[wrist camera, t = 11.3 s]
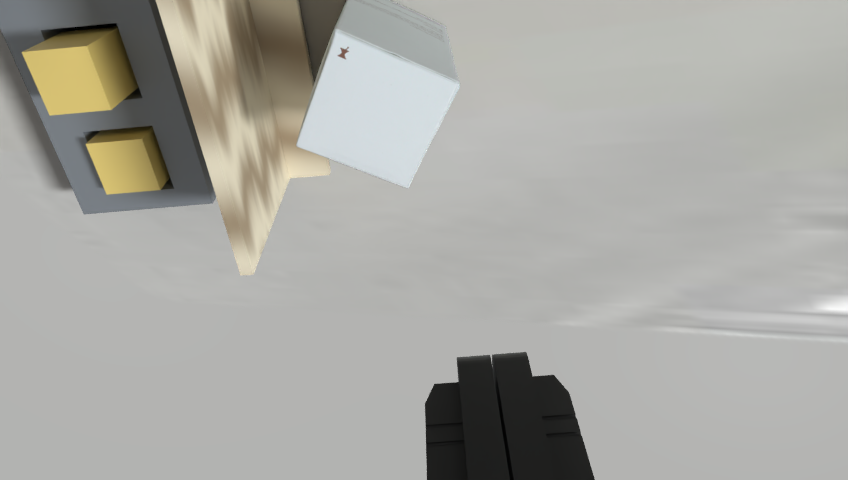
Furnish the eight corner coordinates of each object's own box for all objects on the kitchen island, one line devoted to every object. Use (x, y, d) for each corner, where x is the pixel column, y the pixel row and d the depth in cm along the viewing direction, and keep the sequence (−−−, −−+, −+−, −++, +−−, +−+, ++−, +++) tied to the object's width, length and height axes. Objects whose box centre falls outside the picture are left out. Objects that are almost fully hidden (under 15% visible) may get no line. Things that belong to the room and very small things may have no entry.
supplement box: (318, 77, 45) (289, 146, 34) (353, -20, 41) (333, 23, 30) (408, 116, 46) (407, 193, 36) (450, 26, 43) (463, 82, 32)
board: (-24, -121, 38) (-67, -119, 34) (133, -138, 37) (105, -137, 34) (106, 189, 49) (83, 214, 46) (226, 179, 49) (212, 203, 46)
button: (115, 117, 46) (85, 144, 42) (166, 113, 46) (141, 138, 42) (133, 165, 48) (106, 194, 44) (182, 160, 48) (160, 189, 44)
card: (201, -145, 37) (103, -146, 25) (270, -152, 37) (203, -156, 25) (278, 175, 49) (235, 275, 37) (330, 170, 49) (304, 270, 37)
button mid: (62, 31, 40) (21, 51, 36) (121, 26, 40) (86, 45, 36) (85, 89, 42) (49, 115, 38) (141, 84, 42) (111, 110, 38)
